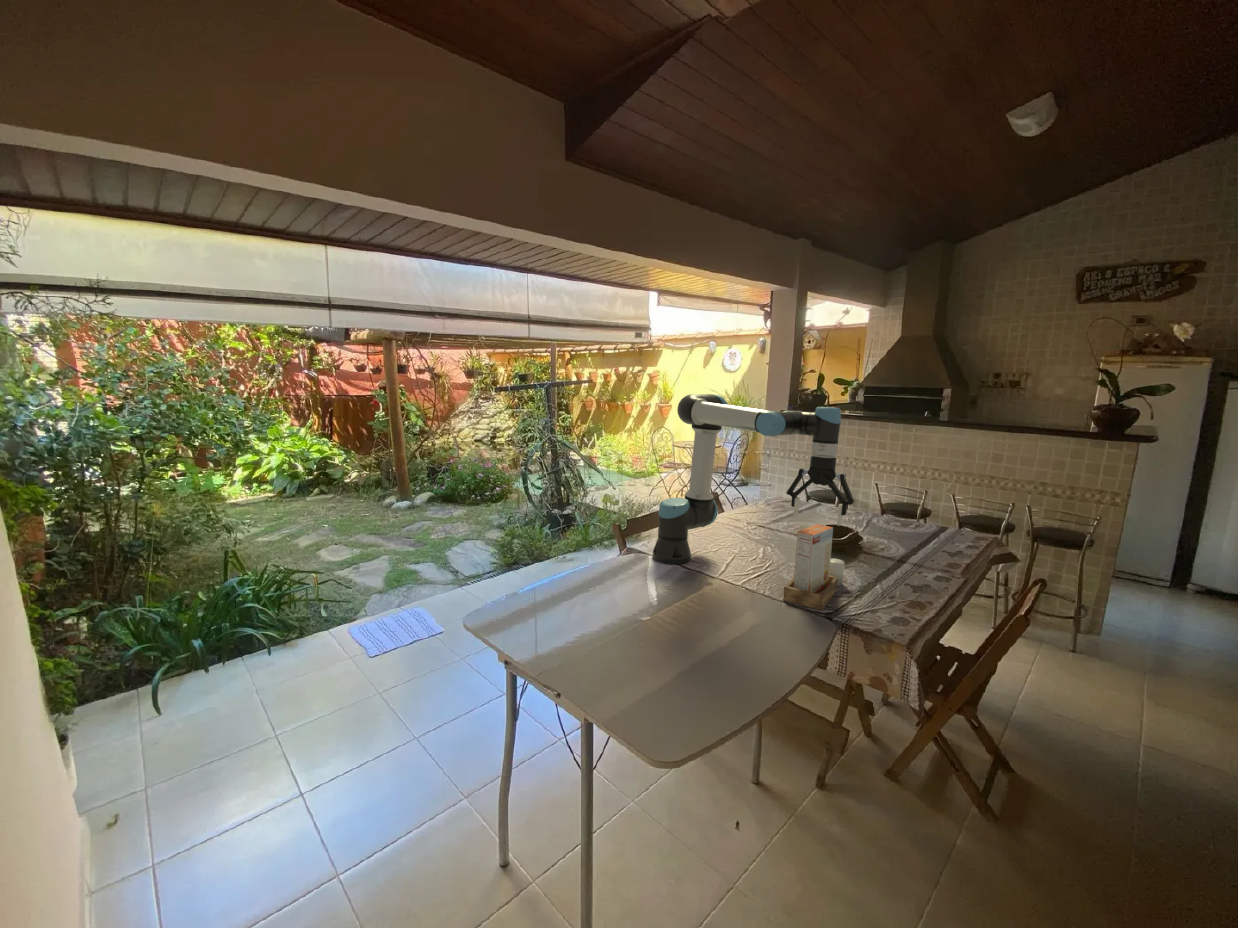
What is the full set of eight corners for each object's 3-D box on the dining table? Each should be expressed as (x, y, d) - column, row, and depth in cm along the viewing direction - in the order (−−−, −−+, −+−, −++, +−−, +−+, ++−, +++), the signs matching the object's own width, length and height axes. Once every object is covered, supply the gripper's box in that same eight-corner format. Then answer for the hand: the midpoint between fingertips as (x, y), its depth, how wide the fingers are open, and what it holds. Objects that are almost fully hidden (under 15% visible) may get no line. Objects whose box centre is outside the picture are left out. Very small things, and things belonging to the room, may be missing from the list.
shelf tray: (783, 599, 156) (784, 586, 156) (800, 581, 172) (801, 569, 172) (822, 610, 149) (823, 596, 149) (836, 589, 165) (838, 577, 165)
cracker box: (811, 581, 168) (817, 523, 165) (828, 586, 164) (834, 527, 161) (791, 591, 159) (796, 530, 156) (808, 597, 155) (814, 534, 152)
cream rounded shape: (822, 583, 171) (824, 561, 170) (826, 578, 176) (828, 557, 175) (840, 587, 168) (842, 565, 166) (843, 582, 172) (846, 560, 171)
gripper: (780, 452, 158) (774, 515, 161) (864, 462, 144) (856, 530, 147) (787, 450, 164) (781, 511, 167) (869, 459, 150) (861, 525, 153)
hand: (816, 520), depth 157 cm, fingers open, 13 cm apart
